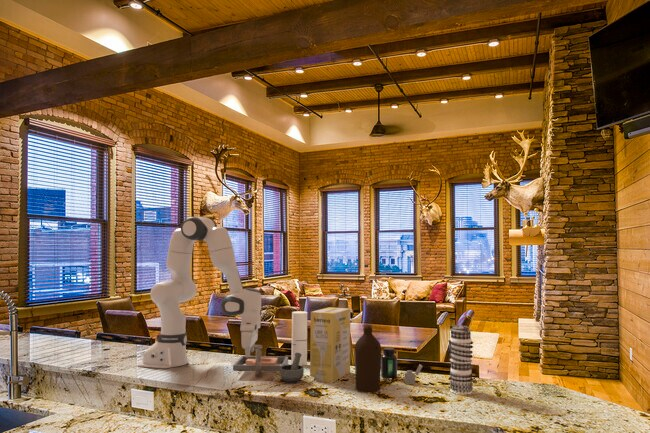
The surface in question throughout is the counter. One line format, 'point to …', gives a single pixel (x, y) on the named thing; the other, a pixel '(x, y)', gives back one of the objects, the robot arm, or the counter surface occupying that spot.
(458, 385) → the grey banded cylinder
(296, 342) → the cylindrical container
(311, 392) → the counter surface
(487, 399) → the counter surface
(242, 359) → the tray
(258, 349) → the stake stand
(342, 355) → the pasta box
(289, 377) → the mortar and pestle
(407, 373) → the lighter
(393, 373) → the supplement bottle
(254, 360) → the ring
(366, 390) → the olive oil
